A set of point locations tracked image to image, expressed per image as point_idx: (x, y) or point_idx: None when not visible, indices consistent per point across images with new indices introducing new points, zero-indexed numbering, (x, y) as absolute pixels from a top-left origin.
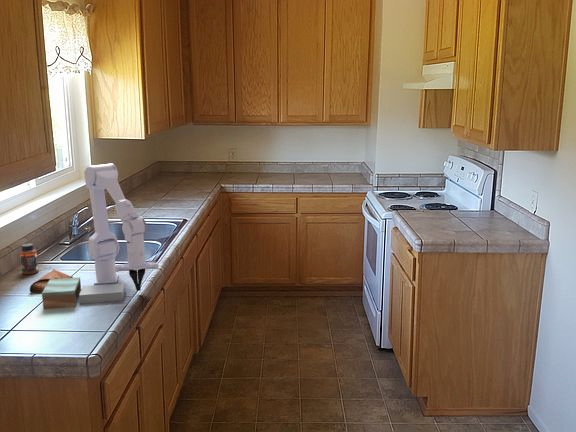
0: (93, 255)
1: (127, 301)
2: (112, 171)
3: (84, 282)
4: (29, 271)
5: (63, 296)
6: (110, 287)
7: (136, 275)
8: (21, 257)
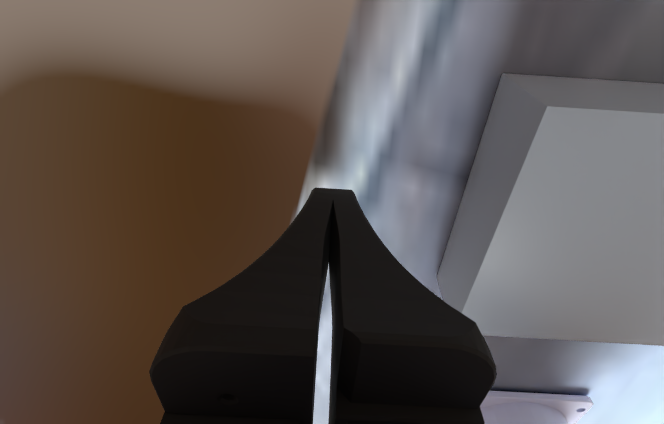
0: None
1: (465, 19)
2: None
3: (622, 420)
4: None
5: None
6: (613, 273)
7: (342, 311)
8: None
